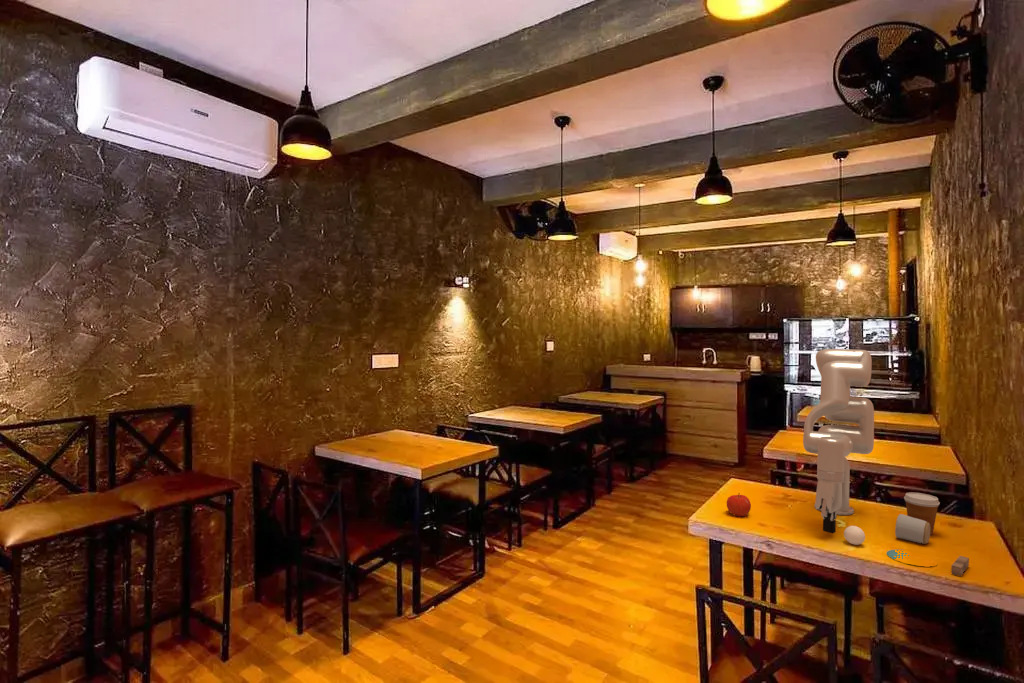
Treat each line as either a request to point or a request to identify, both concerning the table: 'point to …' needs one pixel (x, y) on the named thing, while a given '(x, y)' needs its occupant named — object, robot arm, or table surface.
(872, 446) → the robot arm
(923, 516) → the disposable coffee cup
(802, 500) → the table surface
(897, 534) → the grey cylinder
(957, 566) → the strip
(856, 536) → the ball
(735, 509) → the apple
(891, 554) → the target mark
